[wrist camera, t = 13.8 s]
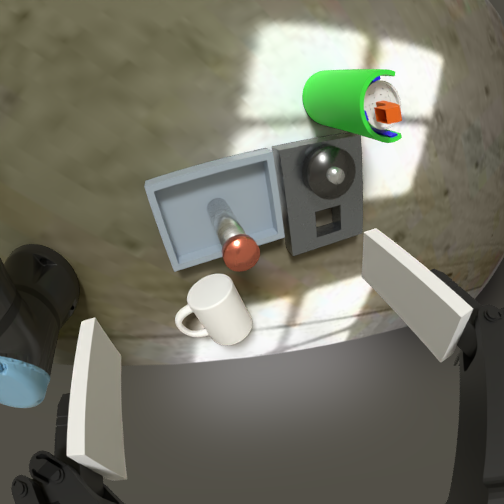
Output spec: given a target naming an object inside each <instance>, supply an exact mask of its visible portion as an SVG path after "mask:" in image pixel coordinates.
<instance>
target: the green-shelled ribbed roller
mask: <svg viewBox="0 0 504 504" xmlns="http://www.w3.org/2000/svg"><path fill="white" fill-rule="evenodd" d="M380 76H395V72H394V71H392V70H382V69H352V70H326V71H320V72H317V73H315V74H314V75H312V76H311V77H310V78H309V79H308V81H307V82H306V84H305V86H304V89H303V104H304V107H305V110H306V112H307V114H308V115H309V116H310V117H311V118H312V119H313V120H314V121H315V122H317V123H319V124H321V125H325V126H329V127H332V128H336V129H340V130H344V131H347V132H351V133H355V134H358V135H362V136H365V137H368V138H372V139H375V140H378V141H381V142H385V143H391V142H395V141H397V140H399V139H401V138H402V137H401V133H397V132H394V131H390V130H386V129H389V128H390V127H392V126H393V125H394V124H395V123H396V122H399V121H401V120H402V117H401V102H400V97H399V95H398V92H397V91H396V89H395V88H394V87H393V86H392V85H391V84H390V83H388V82H386V81H377V80H379V79H380Z"/></svg>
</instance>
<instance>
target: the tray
mask: <svg viewBox="0 0 504 504" xmlns="http://www.w3.org/2000/svg"><path fill="white" fill-rule="evenodd" d="M145 190H146V193H147V196H148V199H149V202H150V205H151V208H152V211H153V214H154V217H155V220H156V223H157V226H158V229H159V232H160V234H161V237H162V240H163V243H164V245H165V248H166V251H167V254H168V256H169V259H170V262H171V264H172V267H173V269H174V272H175V271H178V270H181V269H184V268H188V267H191V266H194V265H197V264H200V263H204V262H207V261H210V260H213V259H217V258H220V257H222V245H221V243H220V241H219V238H218V236H217V234H216V231H215V229H214V227H213V224H212V222H211V220H210V217H209V215H208V212H207V205H208V203H209V202H210V201H211V200H212V199H215V198H222V199H224V200H225V201H226V202H227V204H228V205H229V207H230V209H231V210H232V212H233V213H234V215H235V217H236V218H237V220H238V221H239V223H240V225H241V226H242V228H243V229H244V231H245V233H246V234H247V235H249V236H250V237H252V238H253V239H254V240H255V242H256V243H257V245H258V246H259V245H262V244H265V243H268V242H271V241H275V240H278V239H281V238H284V237H285V235H284V227H283V220H282V212H281V205H280V198H279V191H278V184H277V177H276V170H275V164H274V157H273V152H272V151H270V150H268V149H267V148H263V149H258V150H254V151H250V152H246V153H241V154H237V155H233V156H229V157H225V158H222V159H218V160H214V161H210V162H207V163H203V164H199V165H196V166H192V167H189V168H185V169H182V170H179V171H175V172H172V173H169V174H165V175H162V176H159V177H156V178H153V179H150V180H147V181H145Z"/></svg>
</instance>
